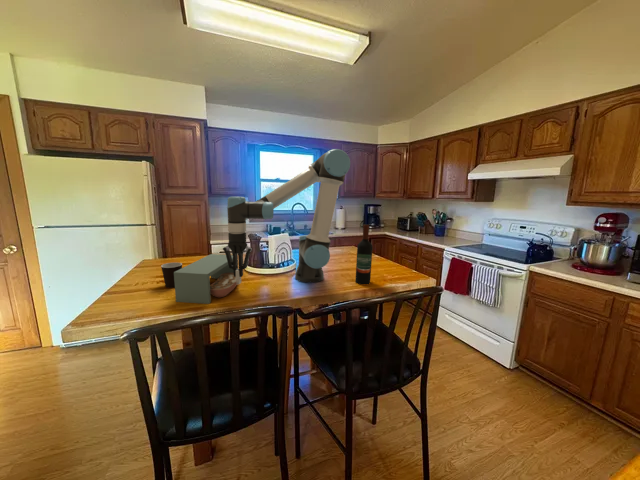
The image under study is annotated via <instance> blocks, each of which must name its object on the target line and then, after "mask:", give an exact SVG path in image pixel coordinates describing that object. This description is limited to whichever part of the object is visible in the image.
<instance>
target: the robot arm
mask: <svg viewBox="0 0 640 480" xmlns="http://www.w3.org/2000/svg"><path fill="white" fill-rule="evenodd" d="M350 168H351V159H350V156H349V155H348V153H347V152H346V151H344V150H342V149H339V148H333V149H330V150H327V152H325V153H323V154H322V155H321V156H319V157H318V158H317V159H316V160H315V161H314V162H312V163H311V164H309V165H308V168H307V169H305V170H304V171H302V172H300V173H299V174H297V175H296V176H294V177H293V178H291V179H289V180H288V181H287V182H285V183H283V184H281V185H280V186H278V187H277V188H275V189H274V190H271V191H270V192H268V193H267V194H266V195H264V196H262V197H261V198H260V199H257V200H256V201H247V199H246V197H244V196H229V197H228V198H227V205H226V206H227V207H226V208H227V210H226V211H227V231H228V235H227V237H228V238H227V239H228V243H227V245H226V246H224V247H223V248H222V250H223V252H224V253H225V254H224V255H226V258H227V261H228V265H229V268H230V269H233V270H234V277H236V284H237V285H240V284H241V283H242V277H243V276H244V270H245V269H247V268H248V265H249V260H250V257H251V252H252V251H253V247H249V245H248V243H247V233H246V231H247V221H246V220H271V219H273V218H274V209H277V207H280V205H282V204H283V203H285V202H287V201H288V200H290V199H291V198H293V197H296V196H297V195H298V194H299V193H301V192H303V191H304V190H306V189H308V188H309V187H311V186H312V185H315V184H316V183H320V186H319V191H318V195H317V200H316V205H315V209H314V213H313V219H312V223H311V228H310V232H309V233H308V234H305V235H300V236H299V238H298V265H297V268H296V271H295V275H294V276H295V277H294V278H295V280H296V281H298V282H301V283H310V284H311V283H318V282H321V281H323V280H324V277H325V274H324V270H323V268H324V267H325V266H326V265H327V264H328V263H329V262H330V258H331V253H330V247H331V243H332V242H331V239H330V237H329V235H330V230H331V227H332V221H333V217H334V212H335V209H336V204H337V200H338V199H337V198H338V194H339V190H340V186H342V185H343V184H344V181H345V177H346V174H348V172H349V170H350ZM244 252H245V255H244ZM231 255H233V260H232V257H231ZM237 255H238V256H237ZM237 268H238V269H237Z"/></svg>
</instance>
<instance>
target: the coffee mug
mask: <svg viewBox="0 0 640 480" xmlns="http://www.w3.org/2000/svg"><path fill="white" fill-rule="evenodd" d="M160 266H161V272H162V276H163V280H164V284H165V287H166V288H168V289H169V288H170V289H175V282H174V272H175V271H177V270H179V269H181V268H183V263H182V262H167V263H163V264H162V265H160Z"/></svg>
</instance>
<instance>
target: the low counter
mask: <svg viewBox="0 0 640 480" xmlns="http://www.w3.org/2000/svg"><path fill="white" fill-rule="evenodd" d="M237 256H238V254H237ZM231 257H232V260H233V255H232V254H231ZM237 269H239V267H238V268H237ZM224 273H234V270H233V269H230V268H229V265H228V261H227V258H226V254H217V253H210V254H208V255H206V256H204V257H202V258H200V259H198V260H196V261H194V262H192V263H190V264H188V265H185V266H184V267H183V266H182V268H181V269H179V270H177V271H175V272H174V282H175V287H174V293H175V302H176V303H177V302H178V303H190V304H205V305H207V304H208V305H210V304H211V302H212V300H211V299H212V297H211V293H210V285H211V281H210V280H211V279H216V280H217V279H218V278H219V277H220V275H222V274H224ZM210 278H211V279H210Z"/></svg>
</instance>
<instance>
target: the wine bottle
mask: <svg viewBox="0 0 640 480" xmlns="http://www.w3.org/2000/svg"><path fill="white" fill-rule="evenodd" d="M362 226H363V227H362V229H363V230H362V240H361V241H359V243H358V244H357V248H356V264H355V265H356V266H355V281H354V282H355V284H357V283H358V285H361V284H368V285H370V284H371V275H372V260H373V247H374V246H373V244H372V243H371V242H370V241H369V231H370V224H369V223H368V224H365V223H364V224H363V225H362ZM369 283H370V284H369Z"/></svg>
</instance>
